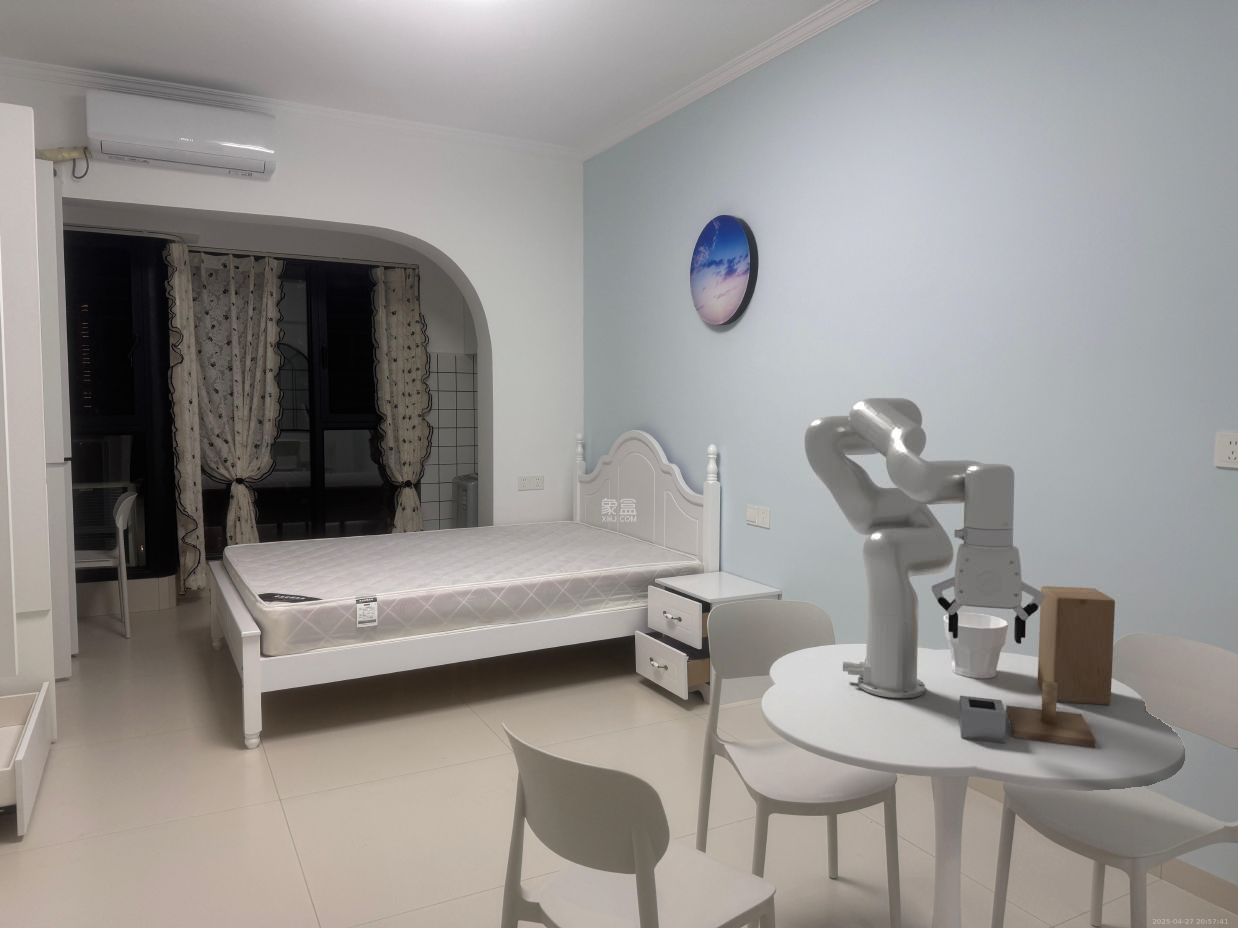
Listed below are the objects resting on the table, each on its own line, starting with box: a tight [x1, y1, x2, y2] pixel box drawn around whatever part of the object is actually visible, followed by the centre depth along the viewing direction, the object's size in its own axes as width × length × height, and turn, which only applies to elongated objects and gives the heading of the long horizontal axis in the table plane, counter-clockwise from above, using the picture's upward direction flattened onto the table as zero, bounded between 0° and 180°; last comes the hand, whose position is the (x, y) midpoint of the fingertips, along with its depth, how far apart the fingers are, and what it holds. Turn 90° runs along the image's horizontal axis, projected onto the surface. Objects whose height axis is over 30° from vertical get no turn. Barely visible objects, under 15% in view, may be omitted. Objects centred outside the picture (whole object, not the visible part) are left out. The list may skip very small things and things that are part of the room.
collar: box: [958, 695, 1007, 744], centre depth 138 cm, size 7×7×5 cm
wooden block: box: [1037, 585, 1116, 706], centre depth 155 cm, size 10×10×20 cm
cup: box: [943, 612, 1009, 680], centre depth 169 cm, size 12×12×11 cm
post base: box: [1005, 681, 1096, 748], centre depth 139 cm, size 12×12×8 cm
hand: (985, 638), depth 136 cm, fingers open, 9 cm apart
